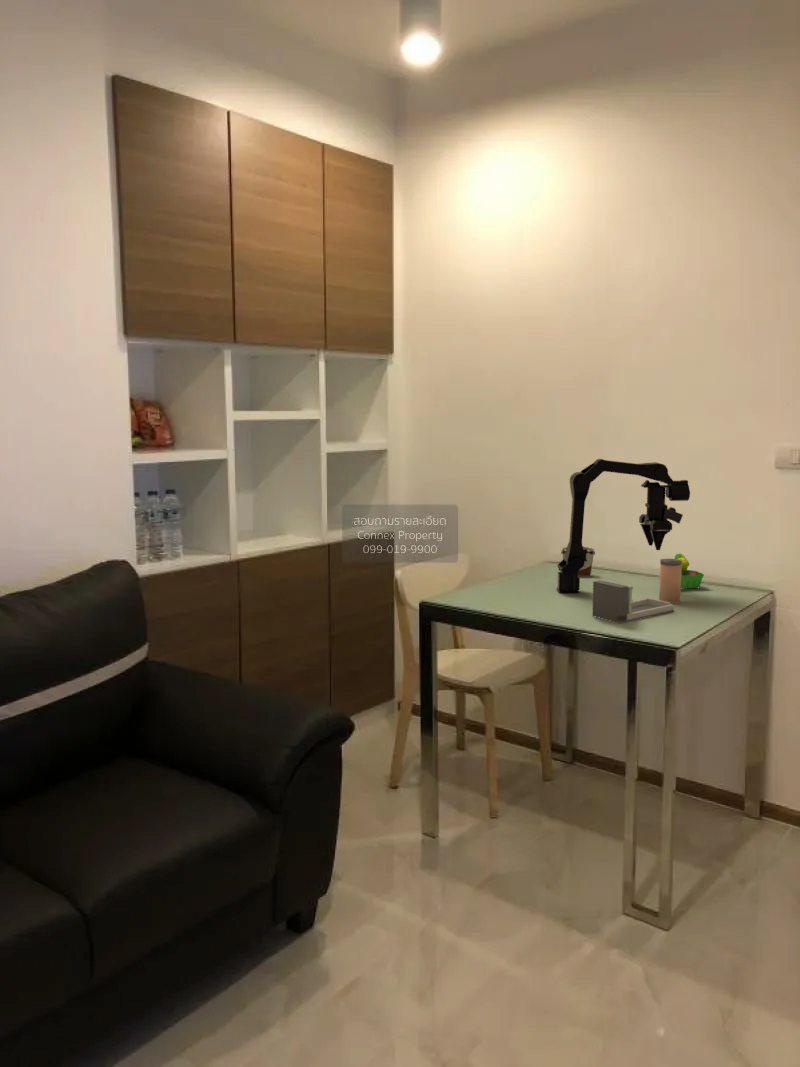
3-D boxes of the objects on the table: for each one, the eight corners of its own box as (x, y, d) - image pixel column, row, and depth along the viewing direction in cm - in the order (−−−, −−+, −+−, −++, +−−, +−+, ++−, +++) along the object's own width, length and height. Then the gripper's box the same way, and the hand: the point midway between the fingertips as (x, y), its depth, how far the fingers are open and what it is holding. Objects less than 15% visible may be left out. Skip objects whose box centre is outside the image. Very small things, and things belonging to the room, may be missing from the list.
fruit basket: (672, 590, 291) (674, 557, 289) (660, 585, 299) (662, 553, 298) (704, 589, 292) (706, 556, 291) (691, 583, 301) (693, 551, 299)
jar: (661, 603, 273) (663, 562, 271) (656, 598, 280) (657, 558, 278) (683, 603, 273) (684, 562, 271) (676, 598, 280) (678, 558, 278)
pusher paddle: (628, 616, 253) (629, 587, 251) (608, 611, 259) (609, 583, 258) (631, 616, 254) (632, 586, 252) (611, 611, 260) (612, 582, 258)
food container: (592, 573, 321) (593, 546, 319) (594, 576, 315) (595, 549, 313) (558, 572, 322) (559, 546, 320) (560, 576, 316) (560, 549, 314)
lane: (619, 623, 249) (621, 587, 247) (592, 616, 257) (593, 581, 256) (673, 611, 262) (675, 577, 261) (646, 604, 271) (647, 571, 269)
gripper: (689, 504, 276) (687, 552, 279) (672, 497, 295) (670, 543, 297) (654, 504, 276) (652, 552, 279) (639, 497, 295) (638, 543, 297)
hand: (654, 547), depth 288 cm, fingers open, 9 cm apart
